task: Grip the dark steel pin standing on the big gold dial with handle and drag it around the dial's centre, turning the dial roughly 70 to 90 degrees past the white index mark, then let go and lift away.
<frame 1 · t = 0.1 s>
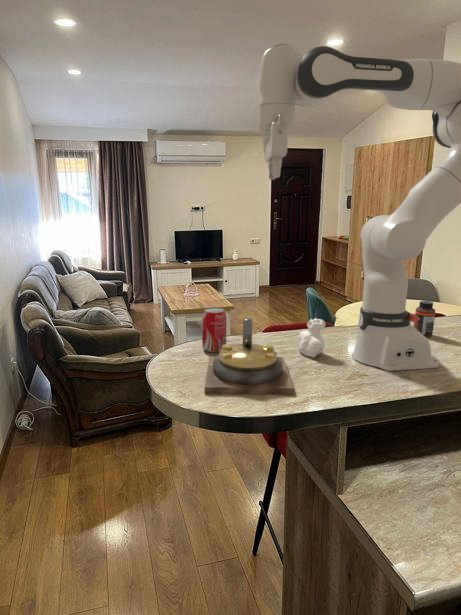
hand: (274, 178, 110), 48 cm above the table, tool pointing down, fingers open, 8 cm apart
soda can: (214, 350, 128), on the table
gold dial with handle: (248, 343, 106), point 9 cm above the table, hinge at 0.0°
white tied sack: (311, 353, 126), on the table
cap housing: (247, 376, 108), on the table
supplement bottle: (422, 335, 144), on the table
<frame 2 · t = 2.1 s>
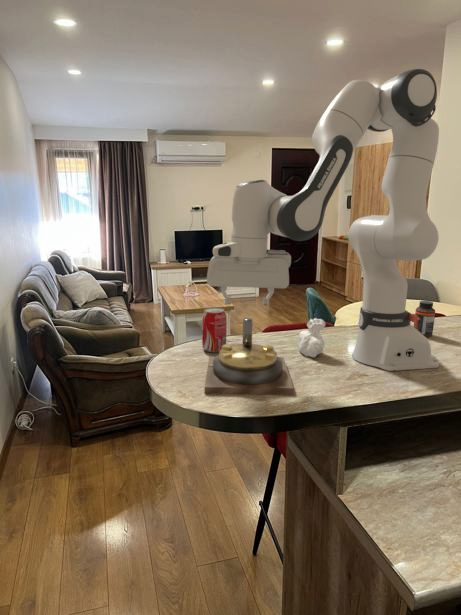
hand: (246, 304, 109), 17 cm above the table, tool pointing down, fingers open, 8 cm apart
nothing on the table moved.
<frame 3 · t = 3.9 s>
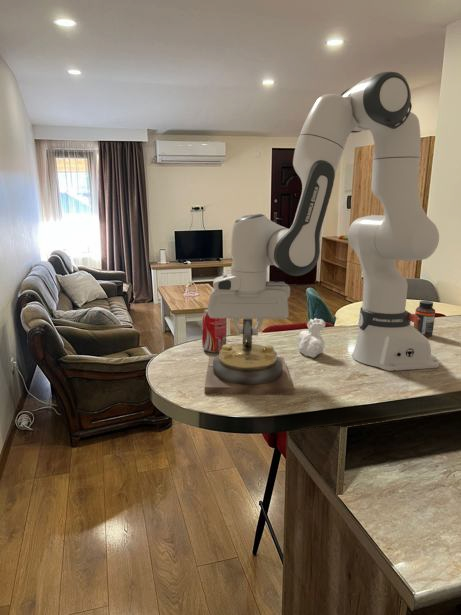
hand: (247, 334, 111), 9 cm above the table, tool pointing down, fingers closed on gold dial with handle, 2 cm apart
gold dial with handle: (248, 343, 106), point 9 cm above the table, hinge at 0.0°, touching gripper
everything else where it was.
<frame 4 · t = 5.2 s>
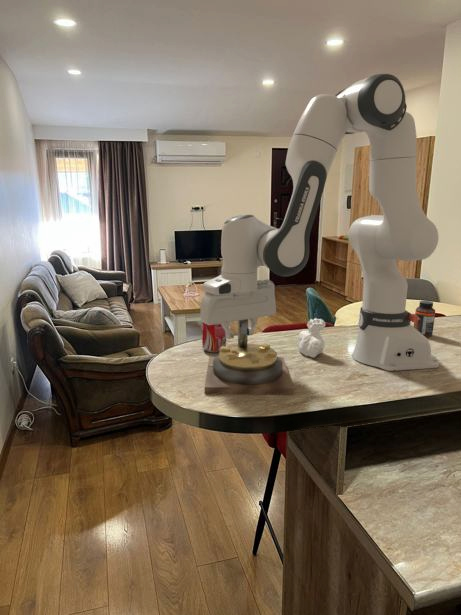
hand: (239, 336, 111), 9 cm above the table, tool pointing down, fingers open, 4 cm apart
gold dial with handle: (248, 343, 106), point 9 cm above the table, hinge at 12.3°, touching gripper
everything else where it was.
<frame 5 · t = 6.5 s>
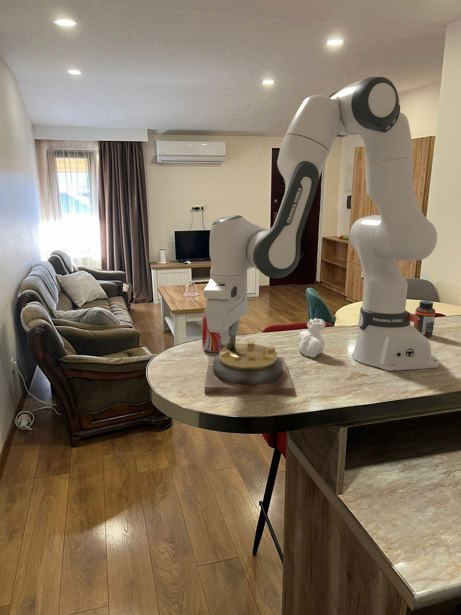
hand: (229, 339, 108), 9 cm above the table, tool pointing down, fingers open, 5 cm apart
gold dial with handle: (248, 343, 106), point 9 cm above the table, hinge at 50.3°, touching gripper
everything else where it was.
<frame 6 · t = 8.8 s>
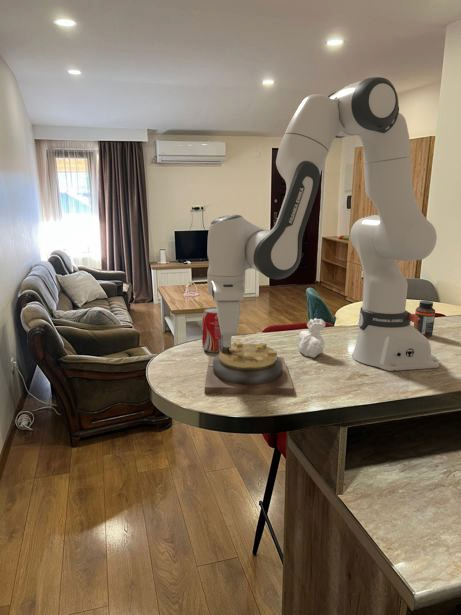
hand: (225, 342, 106), 9 cm above the table, tool pointing down, fingers open, 5 cm apart
gold dial with handle: (248, 343, 106), point 9 cm above the table, hinge at 82.1°
everything else where it was.
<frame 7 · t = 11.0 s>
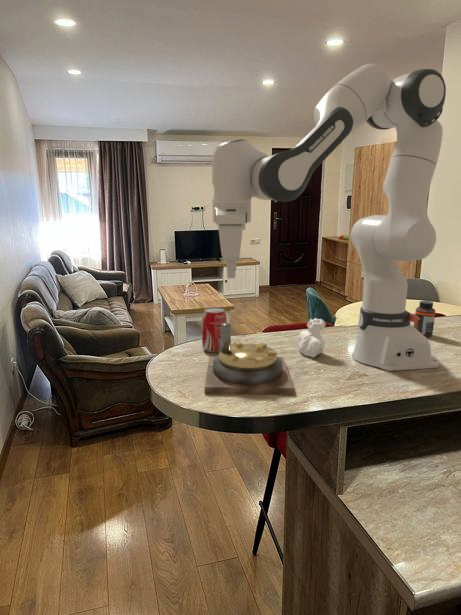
hand: (231, 274, 104), 25 cm above the table, tool pointing down, fingers open, 8 cm apart
nothing on the table moved.
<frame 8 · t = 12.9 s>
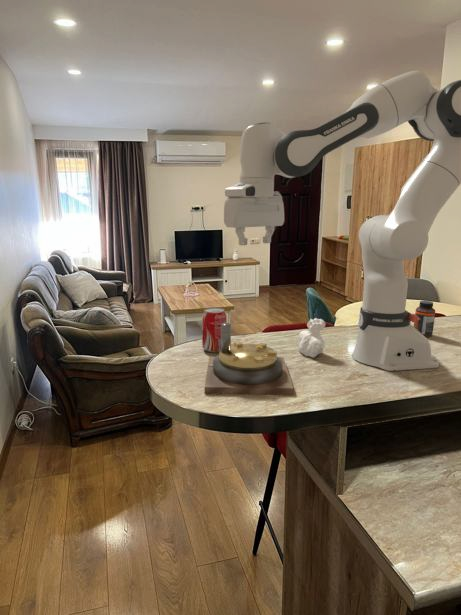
hand: (255, 244, 116), 31 cm above the table, tool pointing down, fingers open, 8 cm apart
nothing on the table moved.
at the end: gold dial with handle at +82° (first picture: +0°); the gripper is holding nothing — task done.
